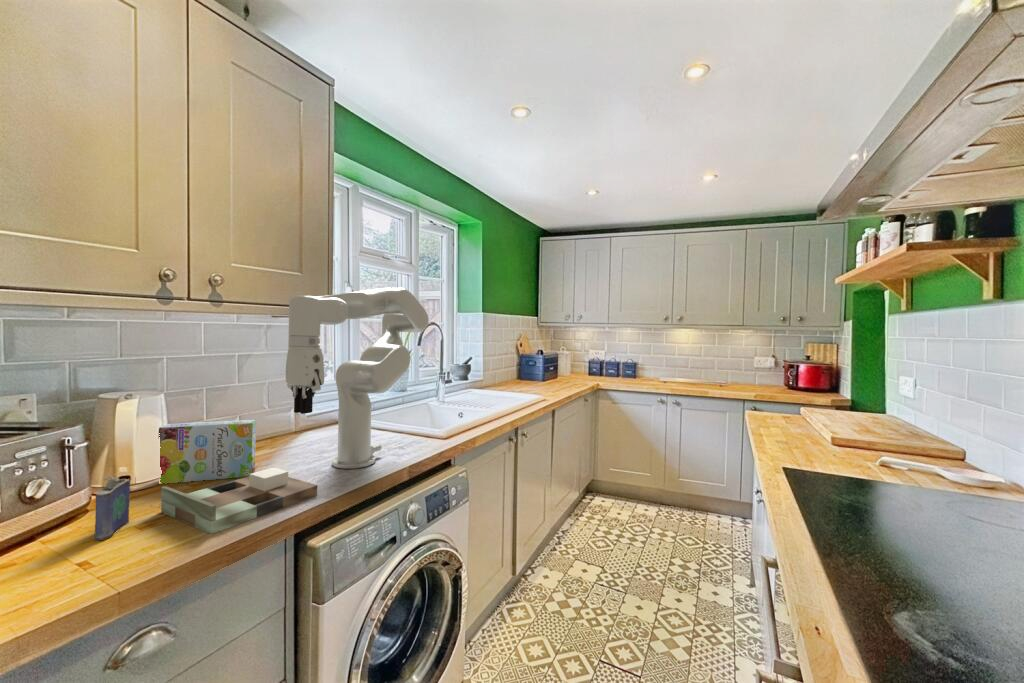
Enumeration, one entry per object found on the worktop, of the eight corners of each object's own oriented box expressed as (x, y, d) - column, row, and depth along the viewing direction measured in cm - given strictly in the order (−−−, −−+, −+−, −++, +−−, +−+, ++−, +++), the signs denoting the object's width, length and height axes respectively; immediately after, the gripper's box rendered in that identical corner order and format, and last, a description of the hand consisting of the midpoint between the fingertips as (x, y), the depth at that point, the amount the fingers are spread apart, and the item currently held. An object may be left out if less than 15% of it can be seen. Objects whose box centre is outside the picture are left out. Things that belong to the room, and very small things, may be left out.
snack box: (255, 471, 122) (256, 418, 122) (251, 477, 117) (252, 422, 117) (165, 478, 114) (165, 422, 114) (156, 485, 109) (157, 427, 109)
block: (273, 479, 109) (273, 467, 109) (288, 483, 106) (288, 471, 106) (249, 486, 103) (249, 473, 103) (264, 491, 101) (264, 478, 101)
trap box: (267, 480, 115) (268, 460, 115) (317, 495, 105) (317, 473, 105) (161, 512, 94) (161, 487, 94) (211, 534, 84) (211, 506, 84)
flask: (108, 540, 81) (108, 484, 81) (88, 542, 80) (88, 485, 80) (132, 520, 90) (132, 469, 89) (114, 522, 89) (115, 470, 88)
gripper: (336, 343, 112) (335, 413, 112) (298, 341, 119) (297, 407, 119) (311, 344, 105) (310, 418, 105) (272, 342, 112) (271, 411, 113)
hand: (303, 412), depth 112 cm, fingers closed
